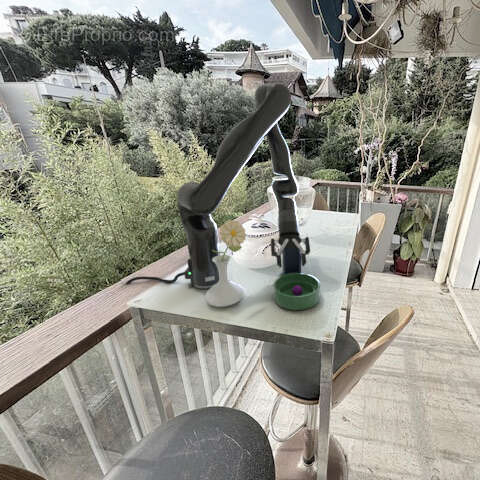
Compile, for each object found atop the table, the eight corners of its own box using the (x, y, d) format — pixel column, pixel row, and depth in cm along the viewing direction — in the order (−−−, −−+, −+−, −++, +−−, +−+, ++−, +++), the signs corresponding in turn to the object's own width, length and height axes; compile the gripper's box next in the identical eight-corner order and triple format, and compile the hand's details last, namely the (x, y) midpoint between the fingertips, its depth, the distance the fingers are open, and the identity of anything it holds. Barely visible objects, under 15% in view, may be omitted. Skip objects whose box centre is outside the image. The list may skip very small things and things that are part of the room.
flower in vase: (209, 315, 74) (198, 230, 65) (202, 295, 83) (191, 218, 73) (255, 302, 80) (250, 223, 71) (243, 284, 89) (238, 212, 80)
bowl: (272, 312, 76) (271, 297, 74) (275, 286, 89) (275, 272, 87) (321, 311, 77) (322, 296, 75) (317, 285, 90) (318, 272, 89)
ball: (301, 294, 81) (297, 284, 81) (292, 298, 82) (288, 288, 82) (305, 292, 83) (301, 283, 84) (297, 296, 85) (293, 287, 85)
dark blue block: (282, 272, 98) (282, 247, 94) (298, 271, 99) (299, 247, 96) (284, 280, 93) (283, 254, 89) (301, 279, 94) (301, 253, 90)
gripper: (269, 220, 94) (271, 264, 88) (308, 219, 97) (313, 261, 91) (268, 229, 101) (271, 270, 95) (305, 228, 104) (310, 268, 98)
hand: (292, 266), depth 93 cm, fingers open, 7 cm apart
